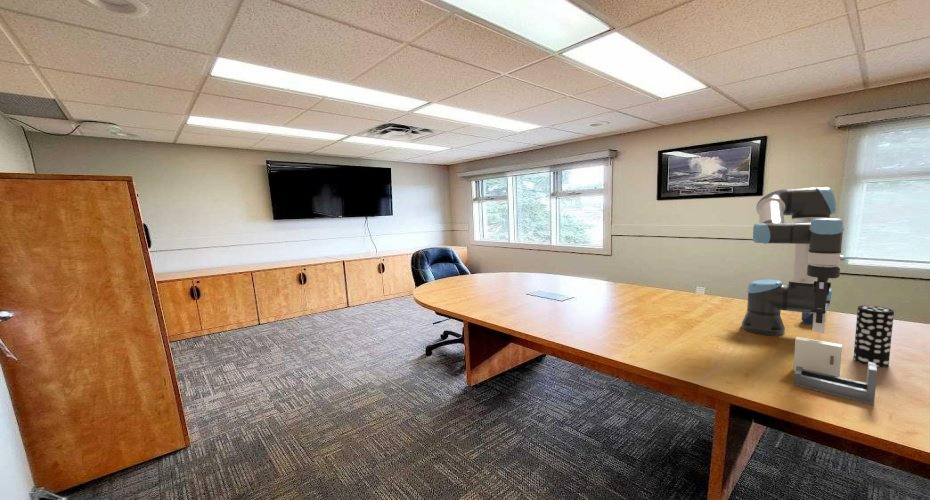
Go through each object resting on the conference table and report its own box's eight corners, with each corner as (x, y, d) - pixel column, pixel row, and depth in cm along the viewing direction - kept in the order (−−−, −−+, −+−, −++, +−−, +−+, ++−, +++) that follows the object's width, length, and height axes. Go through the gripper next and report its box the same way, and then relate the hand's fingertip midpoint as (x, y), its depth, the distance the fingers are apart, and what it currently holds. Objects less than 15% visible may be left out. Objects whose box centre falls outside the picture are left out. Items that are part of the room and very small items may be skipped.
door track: (793, 385, 113) (795, 354, 111) (795, 377, 117) (797, 348, 116) (873, 405, 100) (877, 371, 99) (872, 395, 105) (875, 362, 103)
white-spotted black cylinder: (893, 369, 119) (899, 313, 116) (858, 364, 123) (863, 310, 121) (881, 359, 126) (886, 306, 123) (849, 355, 130) (853, 304, 128)
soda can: (797, 320, 167) (798, 297, 165) (813, 320, 166) (815, 296, 164) (809, 325, 160) (811, 301, 158) (826, 325, 159) (828, 300, 157)
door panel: (793, 371, 121) (795, 339, 120) (794, 368, 123) (796, 336, 122) (839, 382, 113) (841, 347, 111) (839, 378, 115) (842, 344, 114)
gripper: (839, 272, 102) (834, 339, 105) (840, 260, 119) (836, 319, 121) (804, 269, 108) (800, 334, 110) (810, 259, 124) (806, 315, 127)
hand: (819, 326), depth 116 cm, fingers open, 13 cm apart
